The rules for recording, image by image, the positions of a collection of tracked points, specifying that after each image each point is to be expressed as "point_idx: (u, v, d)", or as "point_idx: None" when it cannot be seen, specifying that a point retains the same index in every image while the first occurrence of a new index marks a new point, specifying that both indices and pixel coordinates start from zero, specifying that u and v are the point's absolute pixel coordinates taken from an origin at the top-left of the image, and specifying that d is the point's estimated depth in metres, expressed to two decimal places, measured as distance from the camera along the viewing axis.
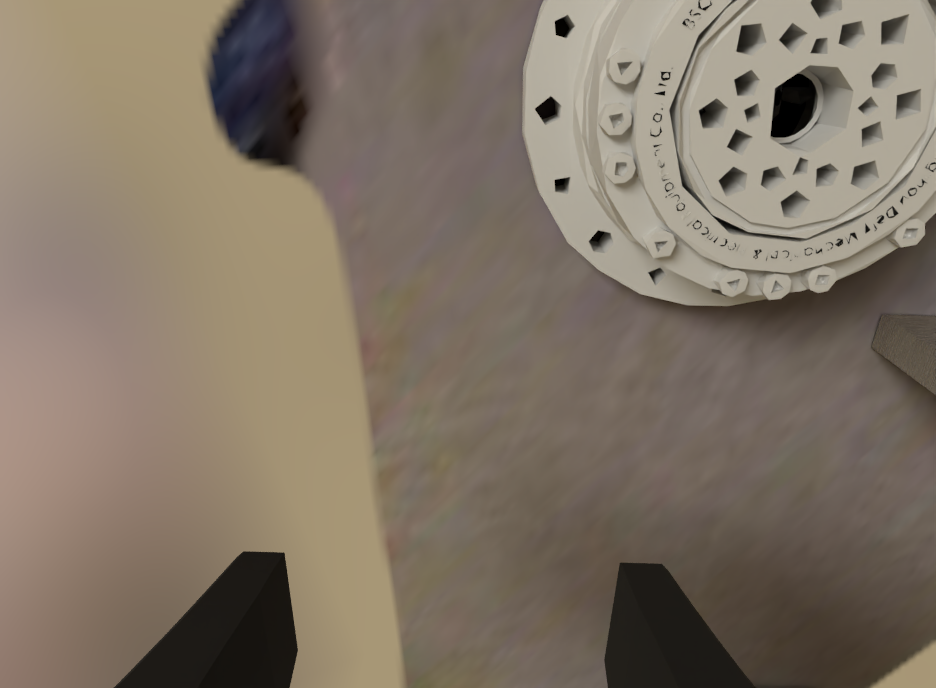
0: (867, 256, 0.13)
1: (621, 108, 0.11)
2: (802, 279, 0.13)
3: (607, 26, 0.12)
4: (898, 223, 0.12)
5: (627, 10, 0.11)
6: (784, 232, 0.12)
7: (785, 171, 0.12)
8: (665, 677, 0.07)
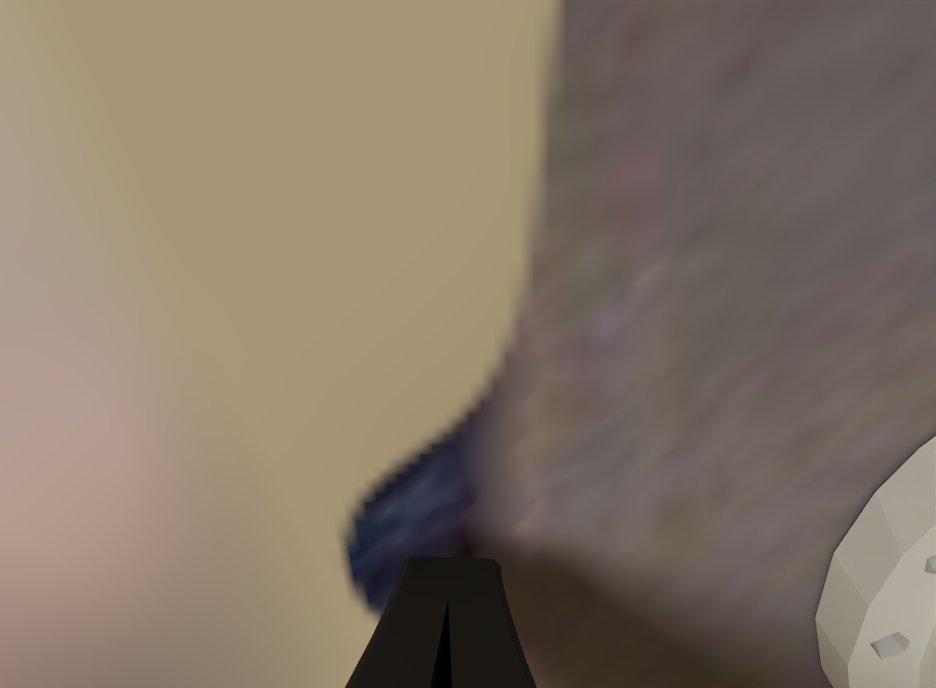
0: None
1: None
2: None
3: None
4: None
5: None
6: None
7: None
8: (451, 670, 0.07)
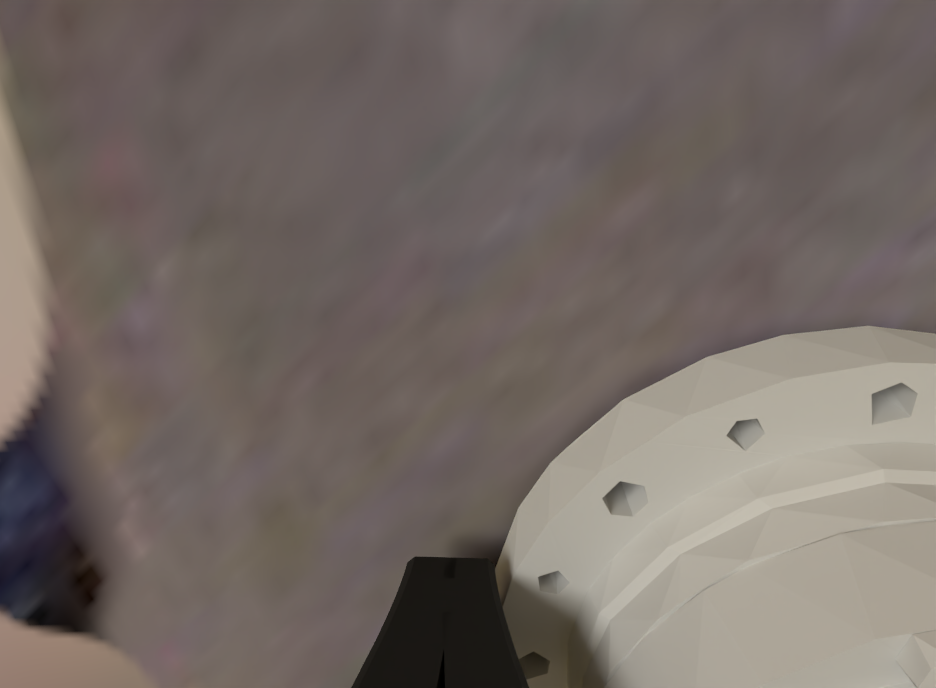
0: None
1: None
2: None
3: (620, 663, 0.08)
4: None
5: None
6: None
7: None
8: (444, 670, 0.07)
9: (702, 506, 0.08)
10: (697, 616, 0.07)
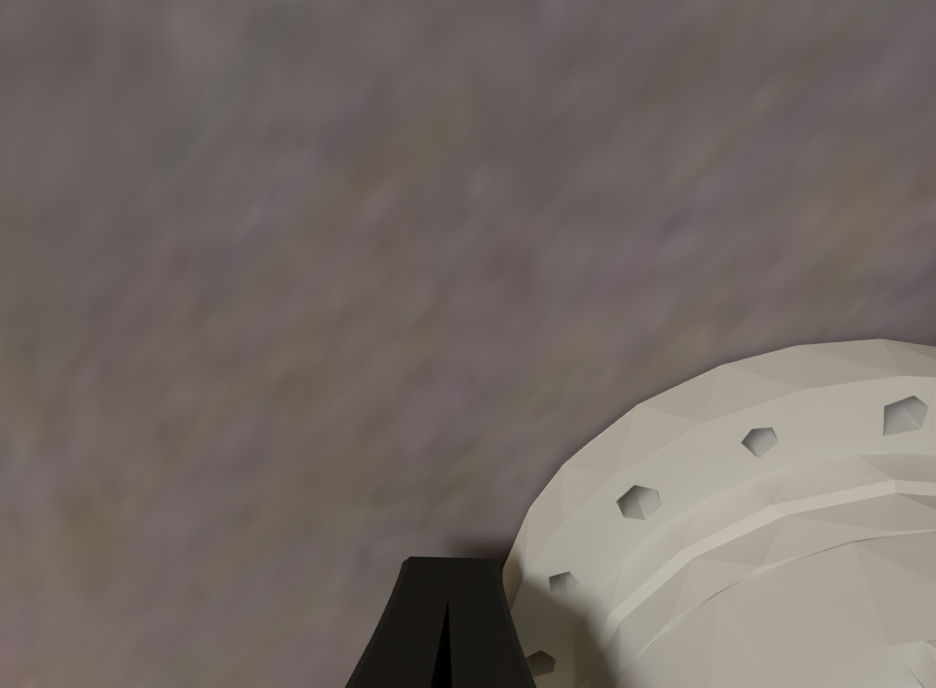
0: None
1: None
2: None
3: (630, 664, 0.08)
4: None
5: None
6: None
7: None
8: (451, 670, 0.07)
9: (715, 511, 0.08)
10: (710, 619, 0.07)
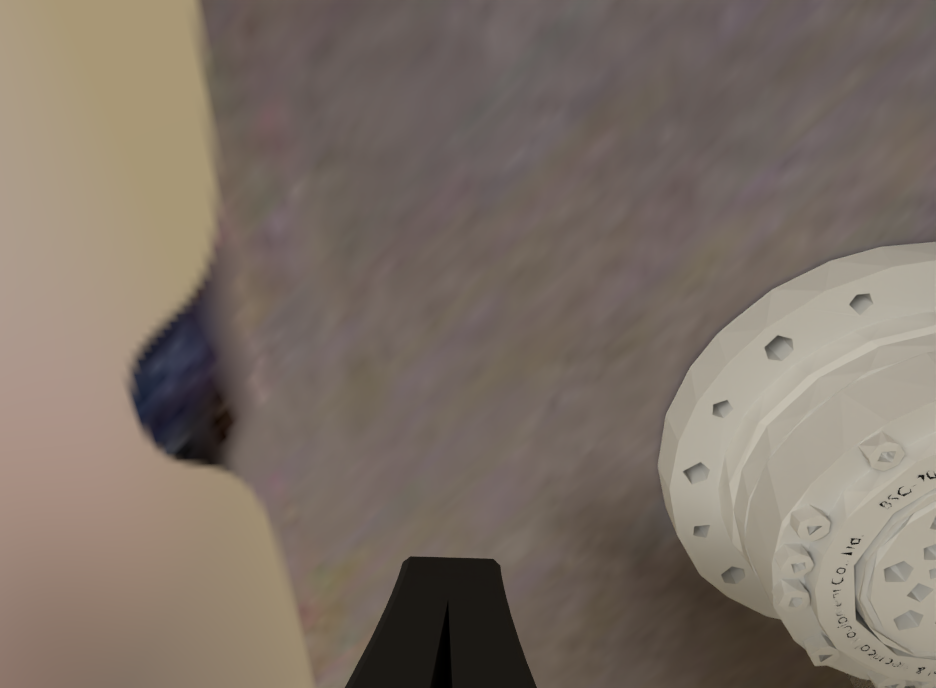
0: None
1: (804, 559, 0.11)
2: None
3: (779, 444, 0.12)
4: None
5: (819, 476, 0.11)
6: None
7: None
8: (451, 670, 0.07)
9: (830, 350, 0.12)
10: (837, 403, 0.12)
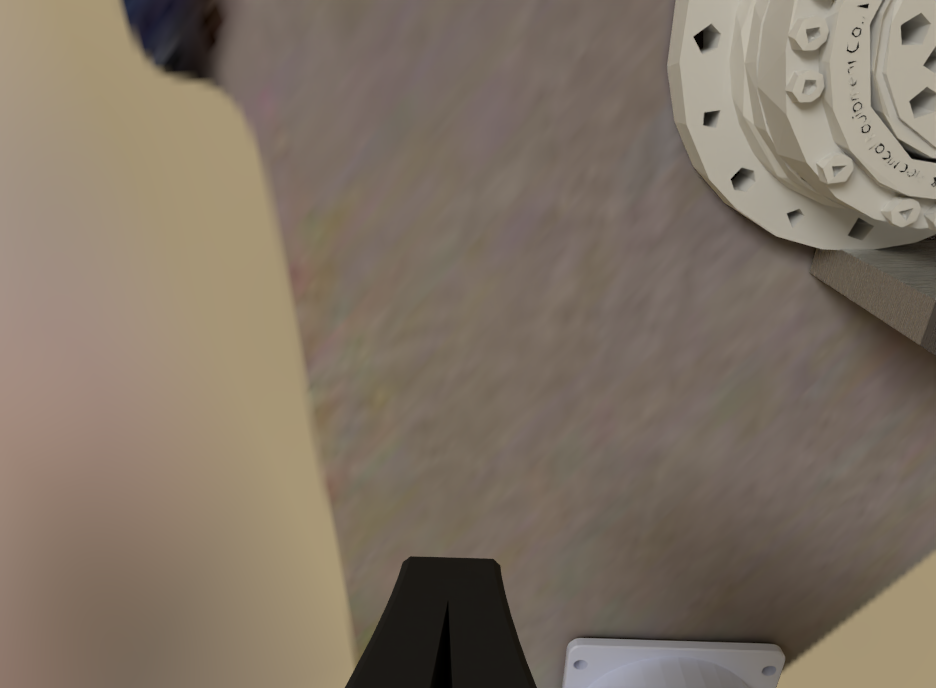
0: None
1: (819, 21, 0.11)
2: None
3: None
4: None
5: None
6: None
7: None
8: (451, 670, 0.07)
9: None
10: None
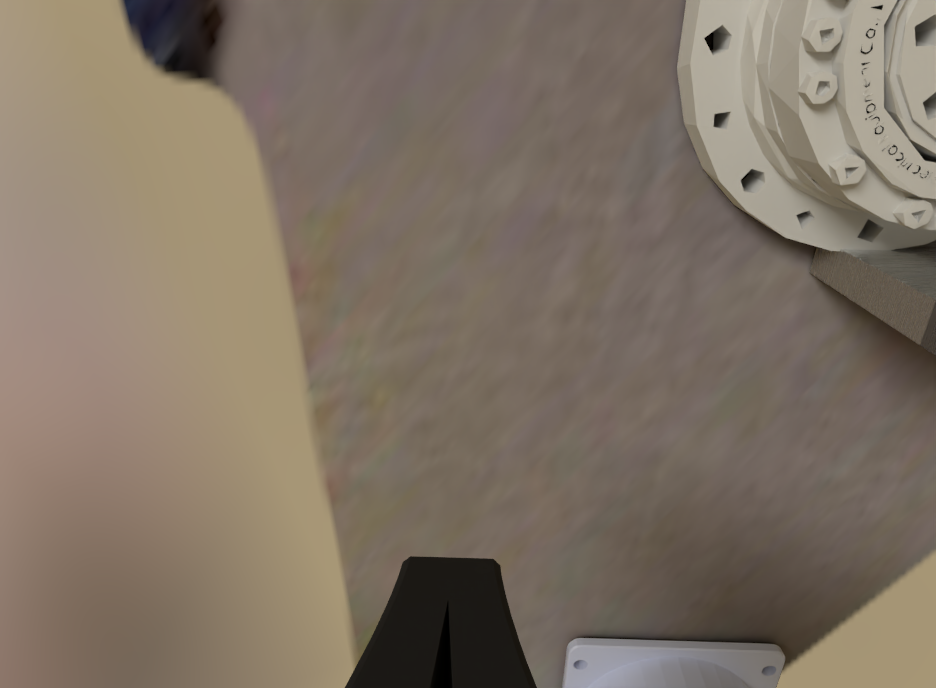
0: None
1: (833, 23, 0.11)
2: None
3: None
4: None
5: None
6: None
7: None
8: (451, 670, 0.07)
9: None
10: None
